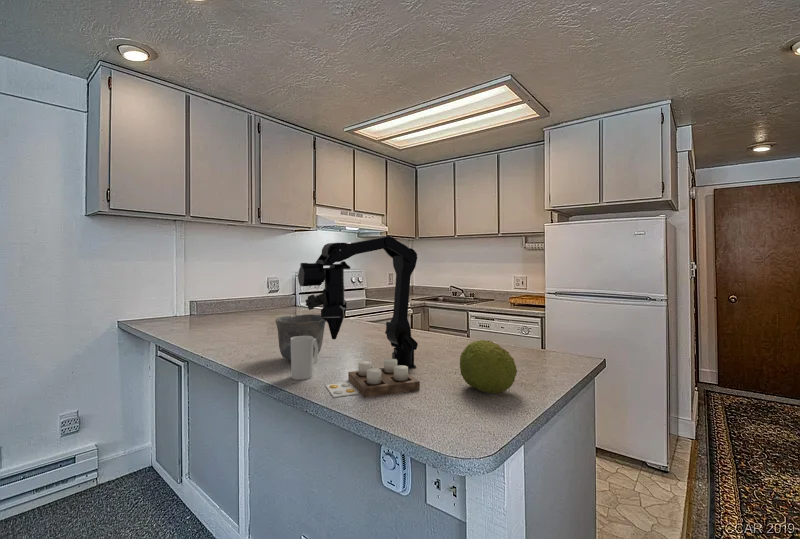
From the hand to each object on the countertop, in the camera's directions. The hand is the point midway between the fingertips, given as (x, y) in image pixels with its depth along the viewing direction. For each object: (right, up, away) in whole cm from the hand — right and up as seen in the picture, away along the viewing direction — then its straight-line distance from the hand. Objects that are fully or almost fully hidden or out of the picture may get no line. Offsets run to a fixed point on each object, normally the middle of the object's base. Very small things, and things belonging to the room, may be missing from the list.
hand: (335, 335), depth 119 cm
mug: (-10, -13, +3) cm, 16 cm away
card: (+3, -13, -10) cm, 17 cm away
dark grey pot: (-15, -12, +22) cm, 29 cm away
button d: (+12, -11, -11) cm, 20 cm away
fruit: (+43, -14, -10) cm, 47 cm away
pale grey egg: (+17, -10, -1) cm, 20 cm away
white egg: (+9, -11, -4) cm, 15 cm away
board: (+15, -13, -6) cm, 20 cm away
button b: (+20, -11, -8) cm, 24 cm away
